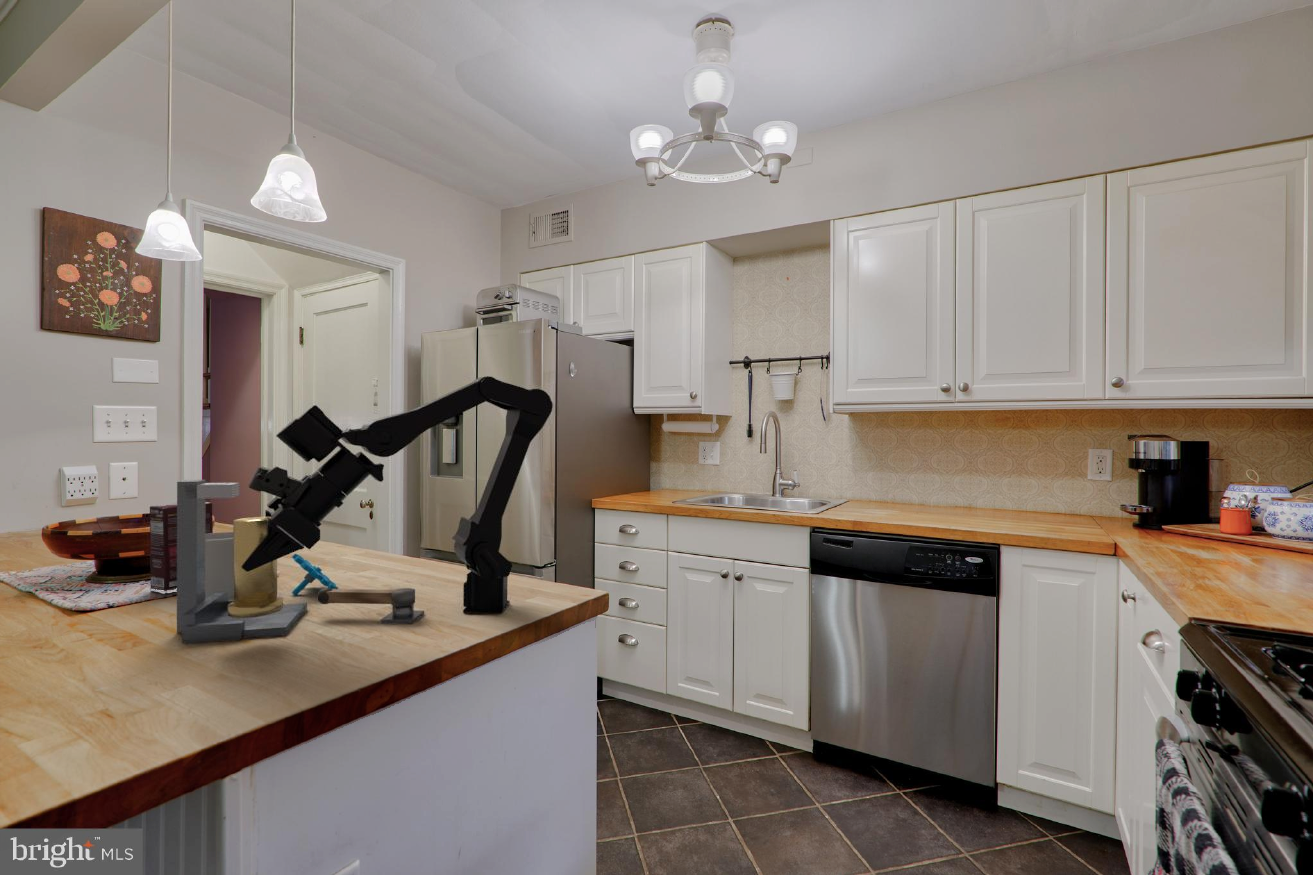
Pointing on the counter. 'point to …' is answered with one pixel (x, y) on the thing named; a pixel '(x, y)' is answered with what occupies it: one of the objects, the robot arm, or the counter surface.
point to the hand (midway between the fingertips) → (244, 565)
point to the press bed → (193, 610)
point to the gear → (311, 575)
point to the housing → (252, 573)
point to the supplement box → (167, 544)
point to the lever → (367, 596)
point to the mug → (219, 563)
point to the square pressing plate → (402, 615)
